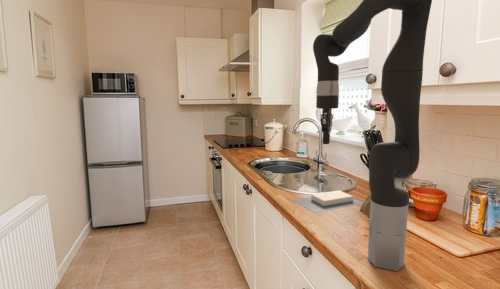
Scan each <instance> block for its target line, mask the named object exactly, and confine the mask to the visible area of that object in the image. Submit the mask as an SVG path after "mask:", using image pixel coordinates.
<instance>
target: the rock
mask: <svg viewBox="0 0 500 289" xmlns="http://www.w3.org/2000/svg"><path fill="white" fill-rule="evenodd" d="M370 205H371V192H370V193H369V195H368V196H367V197H366V199H365V200H364V203H363V204H361V207H360V208H359V212H362V213H364V214H365V215H367V218H368V219H370Z"/></svg>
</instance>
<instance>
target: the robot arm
mask: <svg viewBox="0 0 500 289" xmlns="http://www.w3.org/2000/svg"><path fill="white" fill-rule="evenodd" d="M432 3H433V0H362V1H361V3H360V4H359V5H358V6H357V7H356V8H355V9H354V10H353V11H352V12H351V14H349V15H348V16H347V17H346V18H345V19H343V20H342V21H340V23H338V24H336V26H335V27H334V28H333V30H332V33H331V34H325V33H324V34H323V33H322V34H321V33H320V34H319V35H317V36H316V37H315V38H314V42H313V44H312V50H313V55H314V60H315V62H316V68H317V84H316V97H315V98H316V105H315V106H316V107H315V108H316V109H320V110H322V113H320V128H321V130H320V131H321V133H322V144H323V145H329V144H330V142H331V141H330V140H331V132H332V126H333V119H334V113H332V110H333V109H338V108H339V103H340V101H339V100H340V99H339V97H340V96H339V95H340V87H339V86H340V85H339V81H340V80H339V76H340V74H339V72H340V71H339V70H340V68H339V65H338V64H336V63H334V62H332V61H331V60H330V58H329V57H331V58H336V57H339V56H341V55H342V54H344V53H345V51H346V50H347V49H348V48H349V46H350V44H352V43H354V42H355V41H356V40H358V39H359V38H361V37H362V36H363V35H364V34H365V33H366V32H367V31H368V29H369V28H370V25H371V23H372V19H373V18H375V16H377V15H379V14H380V13H382V12H384V11H386V10H388V9H389V10H390V9H391V10H396V11H401V21H400V29H399V34H398V37H397V38H396V41H395V42H394V44H393V46H392V47H391V49H389V50H390V51H389V52H388V54H387V56H386V57H385V60H384V61H383V64H382V69H381V82H380V84H381V85H380V91H381V96H382V98H383V100H384V103H385V105H386V108H387V109H388V110H389V112H390V114H391V116H392V119H393V122H394V141H391V142H379V143H376V144H373V146H372V148H371V149H370V152H369V155H368V156H369V157H368V185H369V187H368V188H369V192H370V193H371V205H370V215H369V217H370V218H369V222H368V223H369V226H368V247H367V248H368V249H367V250H368V251H367V259H368V261H369V262H370V263H371V264H372V265H373V267H374V268H379V269H385V270H390V271H395V272H399V271H400V269H402V268H404V266H405V259H406V255H405V254H406V242H407V231H408V230H407V228H408V227H407V226H408V213H409V204H410V203H409V195H408V193H407V192H406V191H404V190H402V189H399V188H396V187H395V185H394V177H402V176H409V175H412V176H413V174H415V172H416V171H417V169H418V167H419V163H420V154H421V152H420V108H421V107H420V105H421V104H420V103H421V93H422V84H423V75H424V74H423V70H424V58H425V57H424V56H425V46H426V40H427V39H426V38H427V37H426V36H427V29H428V28H427V27H428V24H429V18H430V12H431V8H432ZM408 203H409V204H408Z"/></svg>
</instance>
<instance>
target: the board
mask: <svg viewBox="0 0 500 289" xmlns="http://www.w3.org/2000/svg"><path fill="white" fill-rule="evenodd" d="M311 198H312V196H311V197H310V196H309V197H303V198H298V199H293V200H292V201H293V202H294V203H297V204H299V206H302V207H303V208H305V209H307V210H308V211H310V212H312V213H320V212H324V211H331V210H334V209H335V210H336V209H341V208H346V207H351V206H352V207H353V206H358V205H362V204H363V203H364V202H365V201H364V202H363V201H361V200H360V199H356V198H355V197H353V202H349V203H343V204H337V205H332V206H326V207H323V206H322V205H320V204H318V203H316V202H314V201H312V200H311Z"/></svg>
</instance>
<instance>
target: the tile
mask: <svg viewBox="0 0 500 289" xmlns="http://www.w3.org/2000/svg"><path fill="white" fill-rule="evenodd" d="M311 197H312V198H311V200H312V201H314V202H316V203H318V204H320V205H322V206H323V207H326V206H332V205H337V204H343V203H349V202H353V198H354V195H351V194H349V193H346V192H344V191H341V190H334V191H327V192H321V193H320V192H319V193H314V194H311Z"/></svg>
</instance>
